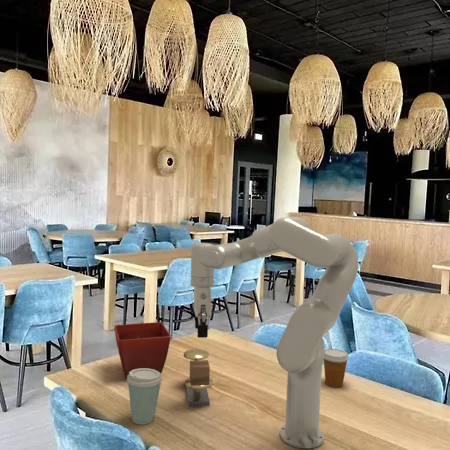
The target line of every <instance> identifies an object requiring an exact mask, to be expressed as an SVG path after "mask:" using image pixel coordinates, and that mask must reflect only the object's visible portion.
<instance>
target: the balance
mask: <svg viewBox="0 0 450 450" xmlns="http://www.w3.org/2000/svg"><path fill="white" fill-rule="evenodd" d="M183 357H184V358H185V359H187V360H205V359H206V360H207V359H208V357H209V352H208V351H207V350H204V349H200V348H199V349H198V348H196V349H187V350H185V351H183ZM213 383H214V382H213V379H212V378H210V377H209V385H191V384H190V376H189V377H187V378H186V379H185V383H184V385H185V392H186V399H187V401H186V402H187V407H188V408H193V407H198V408H200V407H211V406H210V405H211V402H210V401H211V400H210V397H209V392H208V388H212V386H213Z"/></svg>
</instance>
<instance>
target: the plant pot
mask: <svg viewBox="0 0 450 450" xmlns="http://www.w3.org/2000/svg"><path fill="white" fill-rule="evenodd" d="M114 334H115V341H116V346H117V350H118V354H119V355H118V356H119V359H120V363H121V367H122V368H121V369H122V370H123V372H122V373H123V375H124V378H125V379H124V380H126V381H127V375H129V372H130V371H132V370H134V369H139V368H149V369H154V370H156V371H158V372H160V374H161V375H162V373H163V369H164V368H165V364H166V361H167V357H168V352H169V348H170V345H171V344H170V343H171V334H170V333H169V331H168V329H167V328H166V326H165V325H164V323H163V322H161V321H160V322H159V321H158V322H157V321H155V322H154V321H153V322H140V323H129V324H115V325H114Z"/></svg>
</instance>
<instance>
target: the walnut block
mask: <svg viewBox="0 0 450 450" xmlns="http://www.w3.org/2000/svg"><path fill="white" fill-rule="evenodd" d="M210 372H211V370H210V362H209V359H206V360H205V359H202V360H191V359H189V377H190V384H191V385H209V378H210V374H211V373H210Z"/></svg>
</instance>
